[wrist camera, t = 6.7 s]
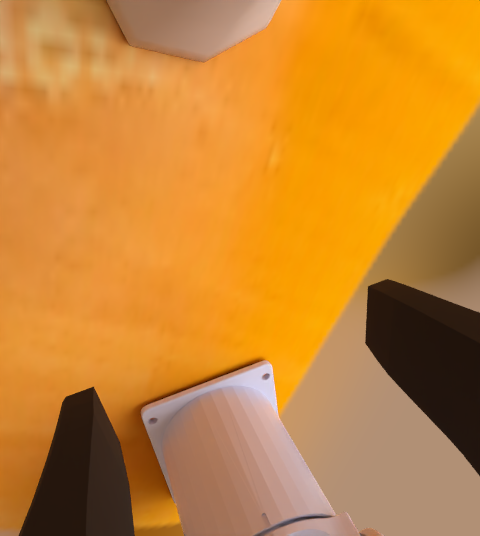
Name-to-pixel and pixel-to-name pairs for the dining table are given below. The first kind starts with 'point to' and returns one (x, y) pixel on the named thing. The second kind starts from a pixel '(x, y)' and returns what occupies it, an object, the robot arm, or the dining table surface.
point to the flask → (191, 24)
